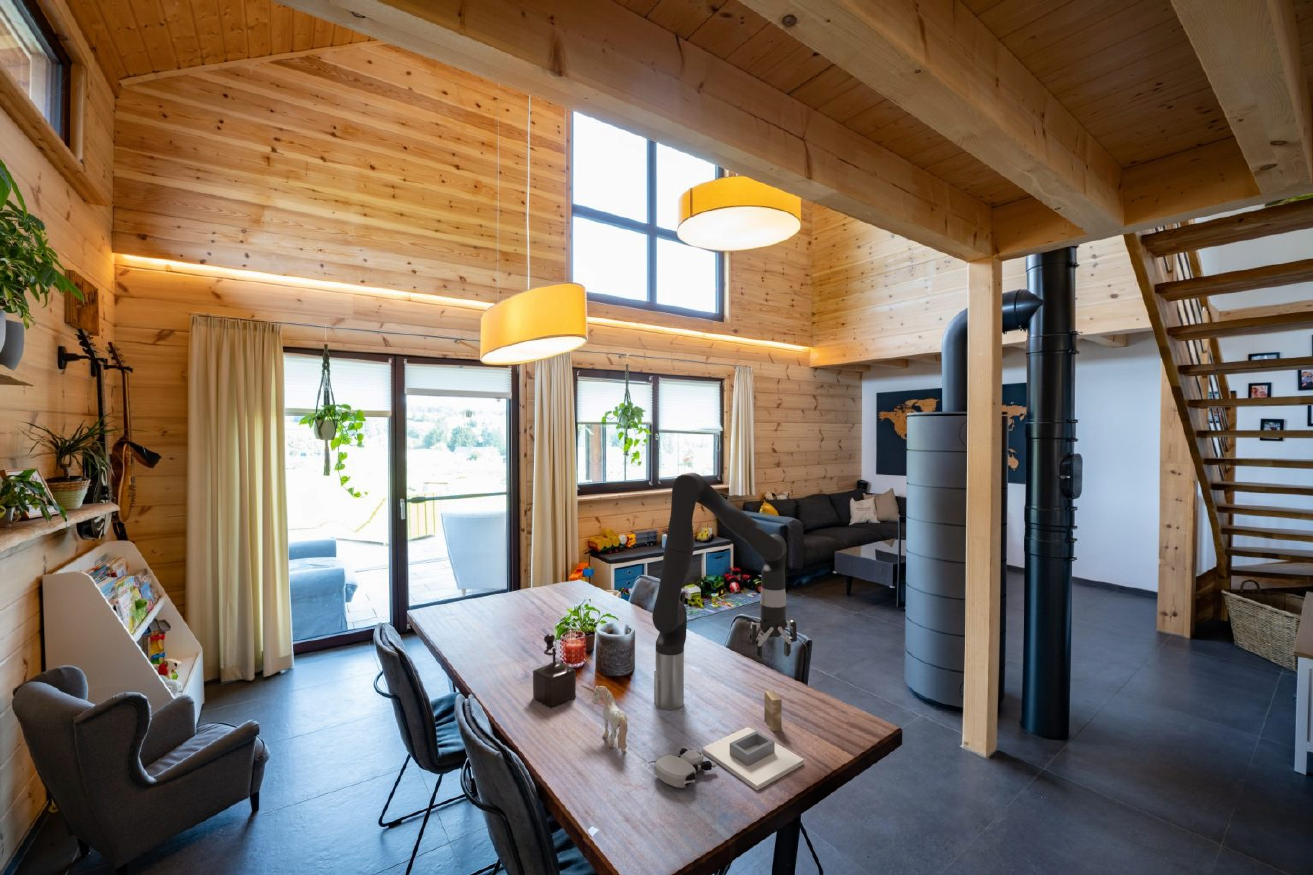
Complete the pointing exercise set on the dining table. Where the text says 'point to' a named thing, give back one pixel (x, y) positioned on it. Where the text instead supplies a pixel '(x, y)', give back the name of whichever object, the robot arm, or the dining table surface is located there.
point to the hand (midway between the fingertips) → (773, 656)
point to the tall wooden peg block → (773, 710)
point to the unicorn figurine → (611, 716)
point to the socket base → (753, 757)
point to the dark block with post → (554, 680)
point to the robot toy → (681, 767)
